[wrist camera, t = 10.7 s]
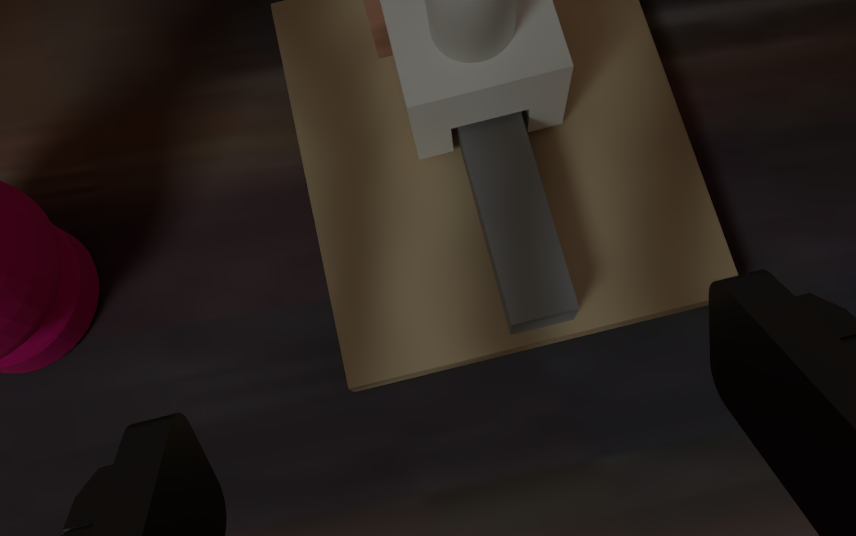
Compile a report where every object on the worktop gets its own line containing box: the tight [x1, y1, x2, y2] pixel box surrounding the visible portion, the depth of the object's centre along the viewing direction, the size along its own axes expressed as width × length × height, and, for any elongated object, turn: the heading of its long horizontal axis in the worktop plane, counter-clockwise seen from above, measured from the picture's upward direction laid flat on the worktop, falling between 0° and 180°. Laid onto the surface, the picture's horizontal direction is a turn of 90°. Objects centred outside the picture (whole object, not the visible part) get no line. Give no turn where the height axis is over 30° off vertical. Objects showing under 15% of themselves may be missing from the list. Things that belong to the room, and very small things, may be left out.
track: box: [271, 0, 738, 392], centre depth 28 cm, size 15×17×6 cm
